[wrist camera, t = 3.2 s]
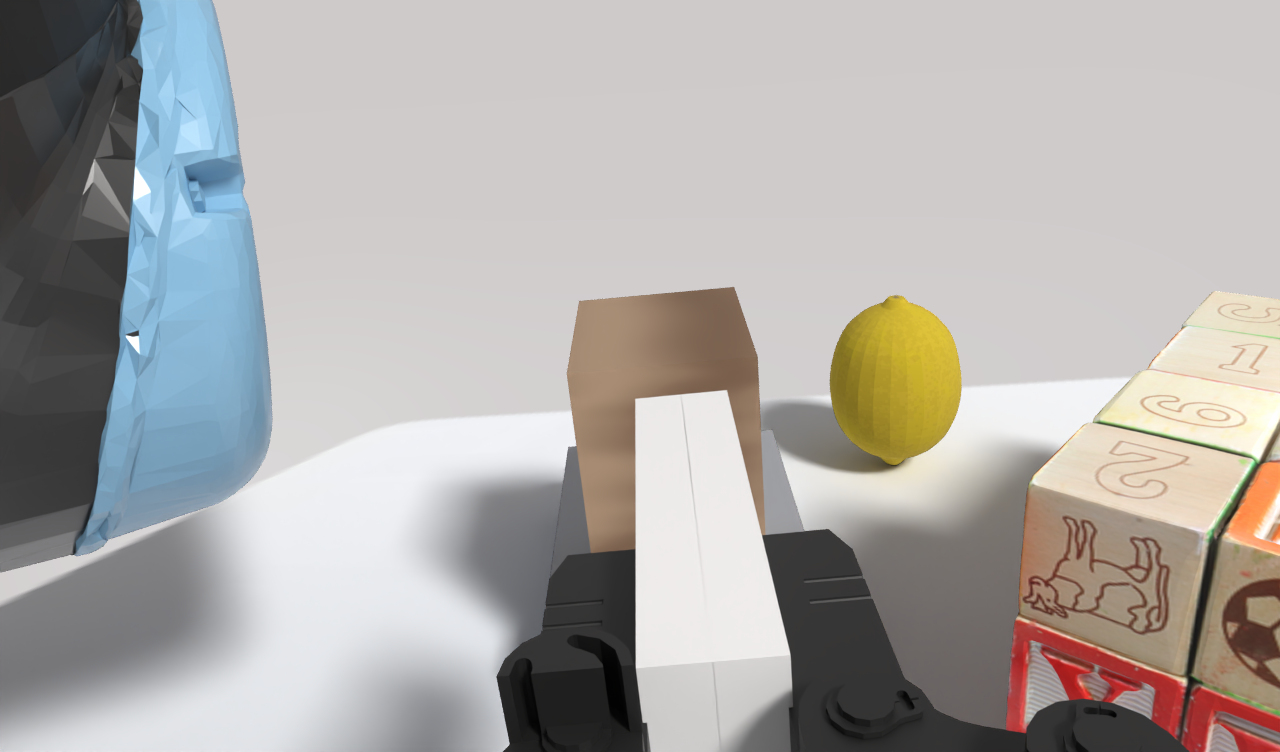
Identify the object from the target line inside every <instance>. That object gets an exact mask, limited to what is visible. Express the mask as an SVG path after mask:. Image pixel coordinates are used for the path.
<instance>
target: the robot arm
mask: <svg viewBox="0 0 1280 752" xmlns="http://www.w3.org/2000/svg"><path fill="white" fill-rule="evenodd" d="M244 184H245V179H244V173H243V168H242V163H241V156H240V151H239V142H238V124H237V118H236V112H235V106H234V100H233V94H232V88H231V82H230V77H229V72H228V66H227V61H226V55H225V50H224V46H223V41H222V37H221V32H220V27H219V23H218V18H217V15H216V11H215V7H214V4H213V2H212V0H0V572H4V571H8V570H12V569H16V568H20V567H24V566H28V565H32V564H36V563H40V562H44V561H48V560H52V559H56V558H59V557H64V556H68V555H75V556H80V555H84V554H88V553H92V552H94V551H96V550H98V549H99V548H101V547H103V546H104V544H105V543H106V542H107V541H108V539H111V538H115V537H118V536H121V535H124V534H127V533H130V532H132V531H136V530H139V529H142V528H145V527H148V526H151V525H154V524H157V523H160V522H163V521H166V520H169V519H172V518H175V517H178V516H181V515H185V514H188V513H191V512H194V511H197V510H200V509H203V508H206V507H209V506H212V505H215V504H218V503H220V502H222V501H223V500H225V499H227V498H229V497H230V496H232V495H234V494H235V493H236V492H237V491H238V490H239V489H241V488H242V487H243V486H244V485H245V484H246V483H248V482H249V481H250V480H251V478H252V477H253V476H254V475H255V474H256V472H257V471H258V469H259V468H260V466H261V464H262V462H263V460H264V459H265V456H266V453H267V450H268V447H269V443H270V437H271V431H272V400H271V381H270V367H269V357H268V347H267V346H268V345H267V335H266V326H265V318H264V309H263V301H262V293H261V284H260V278H259V277H260V276H259V268H258V261H257V255H256V248H255V242H254V235H253V228H252V221H251V216H250V212H249V209H248V205H247V203H246V201H245V198H244V196H243V187H244ZM635 450H636V549H631V550H620V551H608V552H597V553H586V554H575V555H568V556H567V557H566V558H565V559H564V561H563V562H562V563H561V565H560V566H559V567H558V568H557V570H556V571H555V572H554V573H553V575H552V576H551V577H550V579H549V585H548V592H547V598H546V609H545V612H544V618H543V625H542V626H543V631H542V632H541V634H540V635H538V636H536V637H534V638H532V639H530V640H528V641H526V642H524V643H522V644H521V645H520V646H519V647H518V648H516V649H515V650H514V651H513V652H512V653H511V654H510V655H509V656H508V657H507V658H505V660H504V662H503V664H502V666H501V668H500V671H499V673H498V675H497V682H498V687H499V692H500V697H501V702H502V707H503V712H504V717H505V722H506V727H507V732H508V737H509V742H510V745H509V746H508V747H507V748H506V749H505V750H504V751H503V752H1190V751H1189V750H1187V749H1186V748H1185V747H1184V746H1183V745H1182V744H1181V743H1180V742H1179V741H1178V740H1177V739H1175V738H1174V737H1173V736H1172V735H1171V734H1170V733H1169V732H1168V731H1166V730H1165V729H1163V728H1162V727H1160V726H1159V725H1157V724H1156V723H1155V722H1153V721H1152V720H1150V719H1149V718H1147V717H1146V716H1144V715H1143V714H1140V713H1138V712H1135V711H1133V710H1130V709H1128V708H1125V707H1122V706H1120V705H1117V704H1115V703H1110V702H1103V701H1097V700H1090V699H1075V700H1066V701H1057V702H1055V703H1053V704H1051V705H1049V706H1047V707H1045V708H1043V709H1041V710H1039V711H1037V712H1036V714H1035V715H1034V717H1033V718H1032V720H1031V721H1030V723H1029V724H1028V726H1027V727H1026V733H1021V732H1015V731H1009V730H1003V729H996V728H990V727H984V726H979V725H975V724H971V723H967V722H963V721H960V720H957V719H955V718H952V717H950V716H948V715H945V714H943V713H941V712H939V711H937V710H936V709H934V707H933V705H932V704H931V703H930V701H929V700H928V699H927V697H926V696H925V694H924V693H923V692H922V690H921V689H919V688H918V687H916V686H915V685H913V684H912V683H910V682H909V681H907V680H906V679H905V678H904V676H903V674H902V671H901V669H900V666H899V664H898V662H897V659H896V657H895V654H894V652H893V649H892V647H891V644H890V642H889V639H888V637H887V634H886V632H885V629H884V627H883V624H882V622H881V619H880V617H879V614H878V612H877V609H876V607H875V604H874V602H873V599H872V600H871V595H870V592H869V589H868V587H867V584H866V582H865V579H863V576H862V572H861V569H860V567H859V564H858V562H857V559H856V557H855V554H854V552H853V549H852V548H850V547H849V546H848V545H847V544H846V543H844V542H843V541H842V540H841V539H840V538H838V537H837V536H836V535H835V534H833V533H832V532H831V531H830V530H829V529H825V530H814V531H803V532H792V533H780V534H769V535H762V534H761V530H760V526H759V522H758V518H757V513H756V509H755V505H754V501H753V497H752V493H751V488H750V484H749V480H748V476H747V472H746V468H745V463H744V459H743V455H742V451H741V447H740V443H739V439H738V434H737V430H736V426H735V422H734V418H733V414H732V409H731V405H730V401H729V397H728V393H727V390H723V391H712V392H702V393H691V394H681V395H670V396H659V397H649V398H638V399H635Z"/></svg>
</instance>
